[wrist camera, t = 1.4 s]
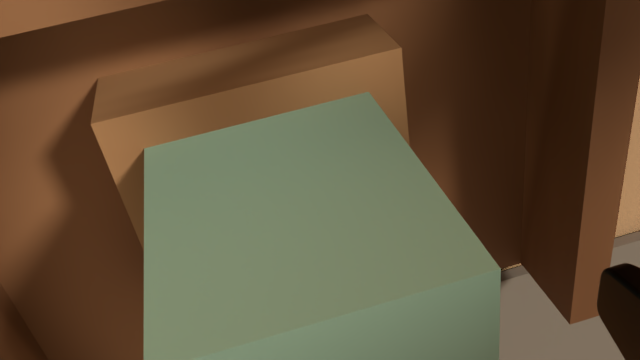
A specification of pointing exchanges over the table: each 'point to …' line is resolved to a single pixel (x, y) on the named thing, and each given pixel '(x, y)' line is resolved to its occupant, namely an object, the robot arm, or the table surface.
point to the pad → (554, 318)
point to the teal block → (310, 246)
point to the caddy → (288, 95)
